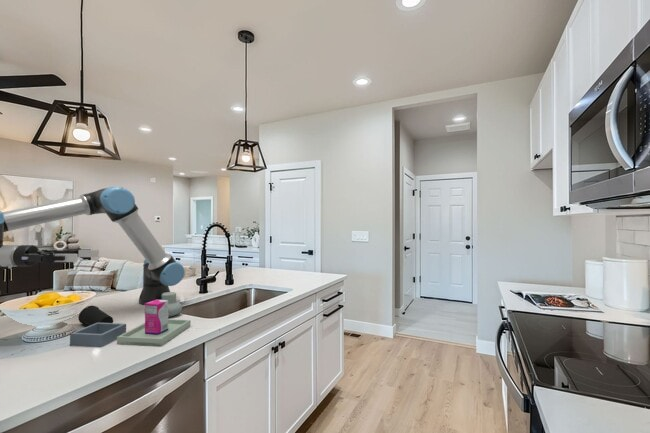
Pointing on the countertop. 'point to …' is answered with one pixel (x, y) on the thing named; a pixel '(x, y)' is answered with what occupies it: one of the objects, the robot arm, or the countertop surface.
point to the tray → (140, 338)
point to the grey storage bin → (97, 334)
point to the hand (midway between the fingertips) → (88, 255)
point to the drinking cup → (93, 316)
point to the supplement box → (156, 317)
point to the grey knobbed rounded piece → (172, 303)
